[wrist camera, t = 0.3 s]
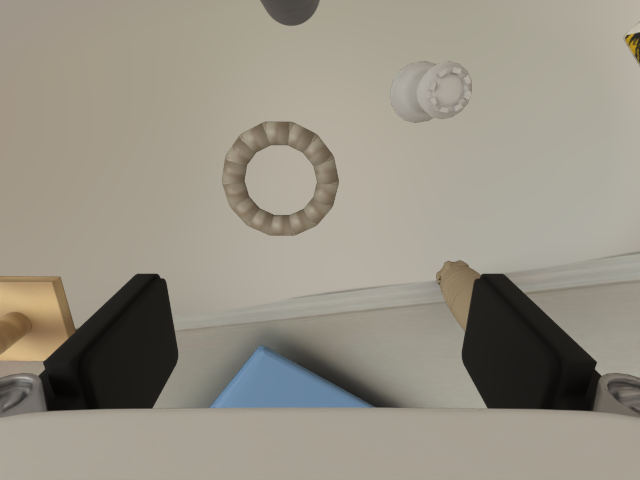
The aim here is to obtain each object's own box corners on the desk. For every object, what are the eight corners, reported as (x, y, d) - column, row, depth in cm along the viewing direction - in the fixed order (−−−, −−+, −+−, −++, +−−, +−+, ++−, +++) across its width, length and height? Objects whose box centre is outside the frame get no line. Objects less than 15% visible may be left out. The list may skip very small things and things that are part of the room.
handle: (424, 304, 36) (492, 434, 22) (428, 243, 34) (506, 346, 20) (474, 301, 36) (573, 431, 22) (481, 241, 33) (596, 342, 19)
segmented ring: (219, 120, 30) (213, 122, 28) (339, 121, 30) (340, 122, 28) (229, 231, 33) (224, 238, 31) (336, 231, 33) (337, 238, 31)
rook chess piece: (455, 77, 29) (503, 69, 21) (427, 131, 30) (462, 141, 23) (405, 51, 28) (437, 33, 20) (378, 108, 29) (399, 110, 22)
